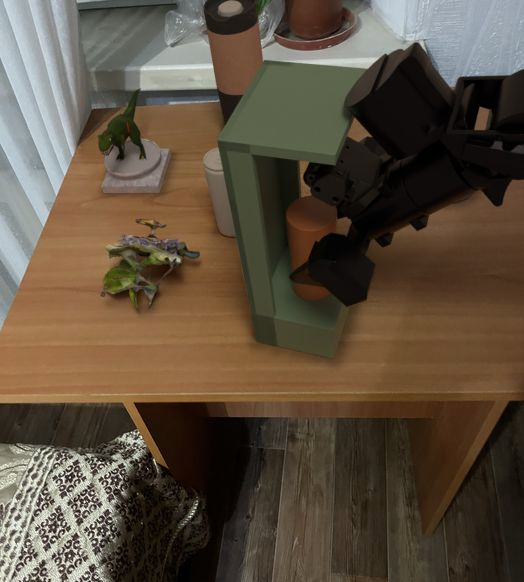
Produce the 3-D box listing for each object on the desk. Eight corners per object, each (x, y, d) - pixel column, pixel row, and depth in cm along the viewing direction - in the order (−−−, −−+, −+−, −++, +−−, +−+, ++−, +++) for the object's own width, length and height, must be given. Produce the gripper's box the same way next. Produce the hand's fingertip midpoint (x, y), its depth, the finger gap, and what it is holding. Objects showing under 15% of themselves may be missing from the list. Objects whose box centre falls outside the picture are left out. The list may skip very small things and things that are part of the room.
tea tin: (336, 266, 67) (337, 194, 57) (336, 300, 64) (337, 230, 55) (293, 267, 67) (287, 196, 58) (291, 300, 64) (284, 231, 55)
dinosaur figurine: (97, 209, 86) (68, 144, 76) (128, 130, 97) (105, 64, 87) (154, 209, 85) (132, 143, 75) (179, 128, 95) (162, 62, 86)
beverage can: (255, 218, 81) (244, 148, 71) (244, 241, 79) (231, 172, 69) (224, 213, 83) (210, 143, 73) (213, 236, 80) (196, 167, 70)
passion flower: (174, 290, 82) (209, 232, 75) (159, 341, 75) (197, 283, 67) (102, 256, 79) (131, 191, 71) (78, 306, 71) (108, 240, 63)
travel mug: (257, 111, 96) (242, -16, 80) (277, 133, 92) (266, 4, 75) (217, 126, 95) (194, 0, 78) (236, 150, 91) (215, 22, 74)
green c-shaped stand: (357, 284, 72) (370, 68, 48) (333, 359, 66) (335, 154, 42) (285, 271, 75) (264, 59, 51) (256, 341, 69) (216, 139, 45)
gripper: (385, 56, 51) (278, 144, 62) (332, 192, 41) (217, 265, 53) (456, 142, 55) (344, 209, 67) (423, 282, 46) (299, 330, 58)
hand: (304, 248), depth 61 cm, fingers open, 9 cm apart
